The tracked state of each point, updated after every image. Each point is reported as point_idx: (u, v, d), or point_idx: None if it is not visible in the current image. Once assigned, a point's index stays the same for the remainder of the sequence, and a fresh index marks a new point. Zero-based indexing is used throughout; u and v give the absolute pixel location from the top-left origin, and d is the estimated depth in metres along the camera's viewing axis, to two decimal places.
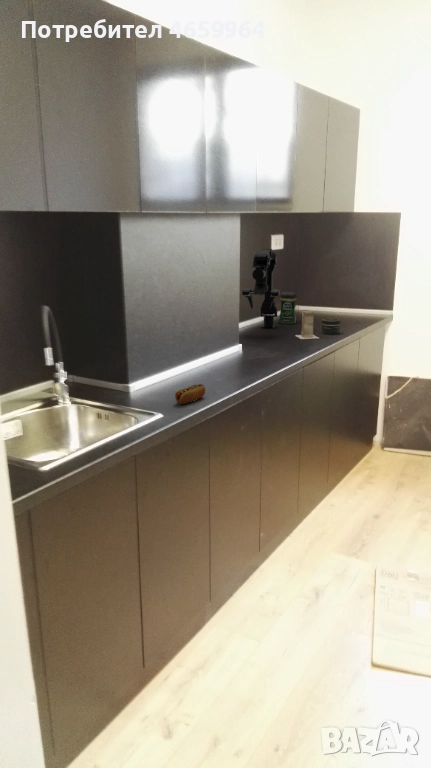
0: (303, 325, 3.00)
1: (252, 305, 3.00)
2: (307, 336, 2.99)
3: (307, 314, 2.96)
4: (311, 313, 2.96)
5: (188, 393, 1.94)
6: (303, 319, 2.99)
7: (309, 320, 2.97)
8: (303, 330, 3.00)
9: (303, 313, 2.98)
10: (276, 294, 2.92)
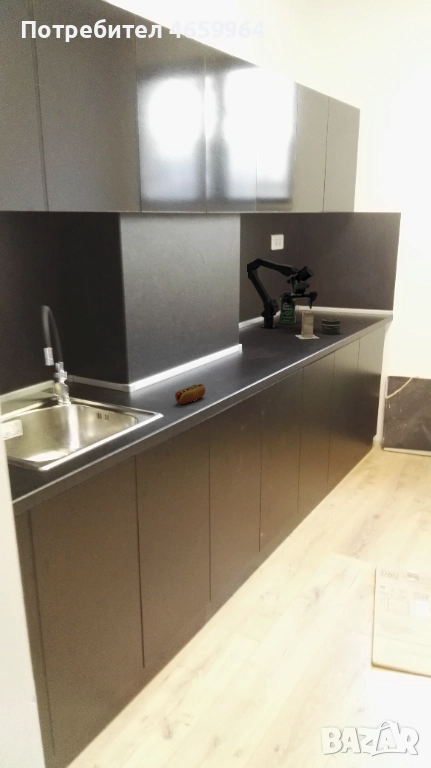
0: (303, 325, 3.00)
1: None
2: (307, 336, 2.99)
3: (307, 314, 2.96)
4: (311, 313, 2.96)
5: (188, 393, 1.94)
6: (303, 319, 2.99)
7: (309, 320, 2.97)
8: (303, 330, 3.00)
9: (303, 313, 2.98)
10: (316, 292, 3.08)
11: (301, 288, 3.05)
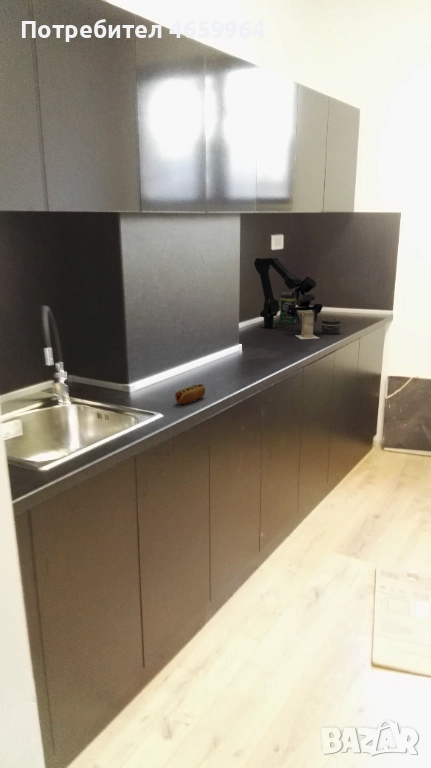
0: (303, 325, 3.00)
1: (298, 320, 3.00)
2: (307, 336, 2.99)
3: (307, 314, 2.96)
4: (311, 313, 2.96)
5: (188, 393, 1.94)
6: (303, 319, 2.99)
7: (309, 320, 2.97)
8: (303, 330, 3.00)
9: (303, 313, 2.98)
10: (321, 305, 3.03)
11: (306, 300, 2.99)
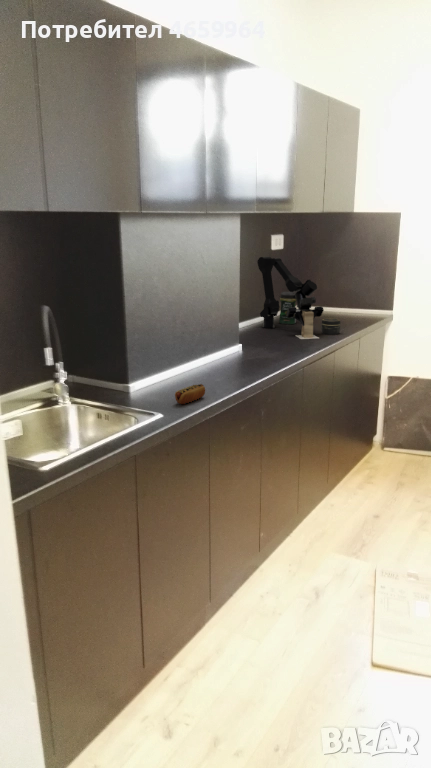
0: None
1: None
2: (307, 336, 2.99)
3: (307, 314, 2.96)
4: (311, 313, 2.96)
5: (188, 393, 1.94)
6: (303, 319, 2.99)
7: (309, 320, 2.97)
8: (303, 330, 3.00)
9: (303, 313, 2.98)
10: (321, 308, 3.01)
11: (307, 304, 2.98)
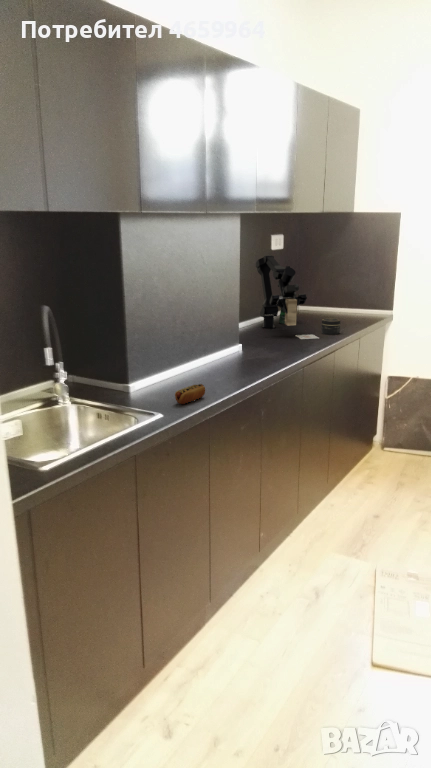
0: None
1: (286, 310, 2.96)
2: (290, 324, 2.96)
3: (290, 301, 2.92)
4: (294, 300, 2.93)
5: (188, 393, 1.94)
6: None
7: (292, 307, 2.93)
8: (286, 318, 2.97)
9: (286, 301, 2.95)
10: (305, 295, 2.98)
11: (290, 291, 2.94)
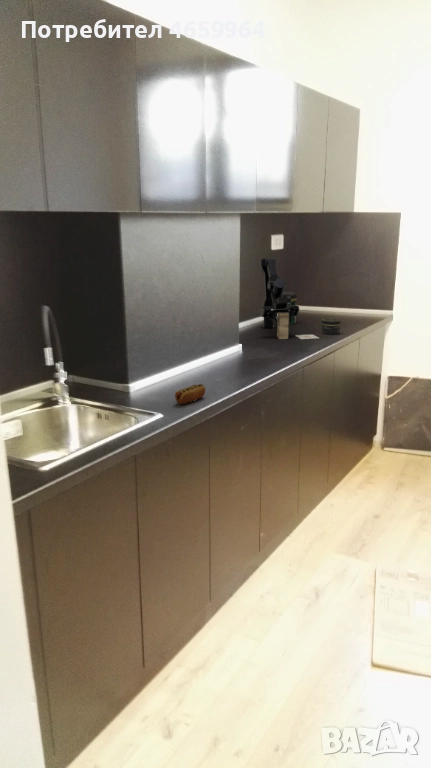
0: (278, 327, 2.97)
1: (276, 322, 2.96)
2: (282, 338, 2.97)
3: (282, 316, 2.93)
4: (286, 315, 2.94)
5: (188, 393, 1.94)
6: (278, 321, 2.96)
7: (284, 322, 2.94)
8: (278, 332, 2.98)
9: (278, 315, 2.96)
10: (297, 307, 2.98)
11: (282, 303, 2.95)
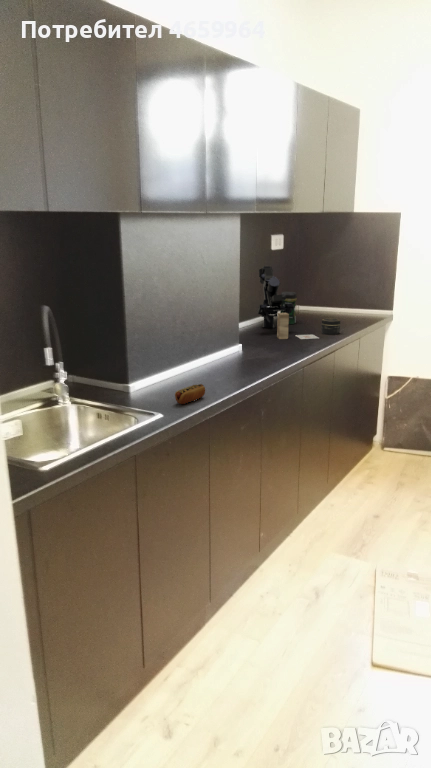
0: (278, 327, 2.97)
1: (269, 320, 3.05)
2: (282, 338, 2.97)
3: (282, 316, 2.93)
4: (286, 315, 2.94)
5: (188, 393, 1.94)
6: (278, 321, 2.96)
7: (284, 322, 2.94)
8: (278, 332, 2.98)
9: (278, 315, 2.96)
10: (292, 305, 3.07)
11: (277, 301, 3.03)
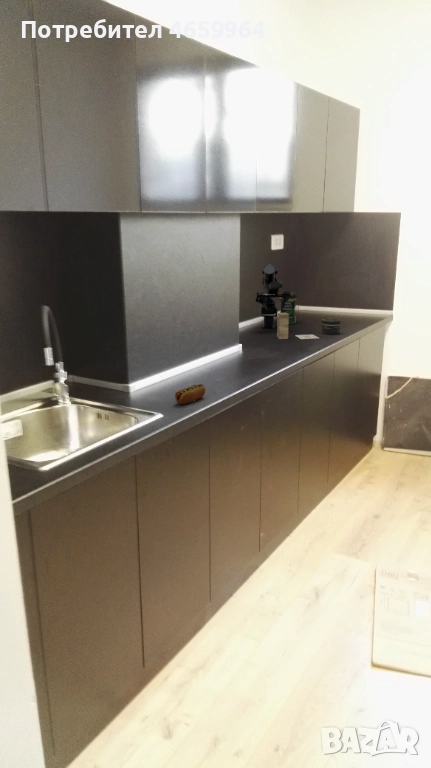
0: (278, 327, 2.97)
1: None
2: (282, 338, 2.97)
3: (282, 316, 2.93)
4: (286, 315, 2.94)
5: (188, 393, 1.94)
6: (278, 321, 2.96)
7: (284, 322, 2.94)
8: (278, 332, 2.98)
9: (278, 315, 2.96)
10: (289, 292, 3.09)
11: (274, 288, 3.06)
